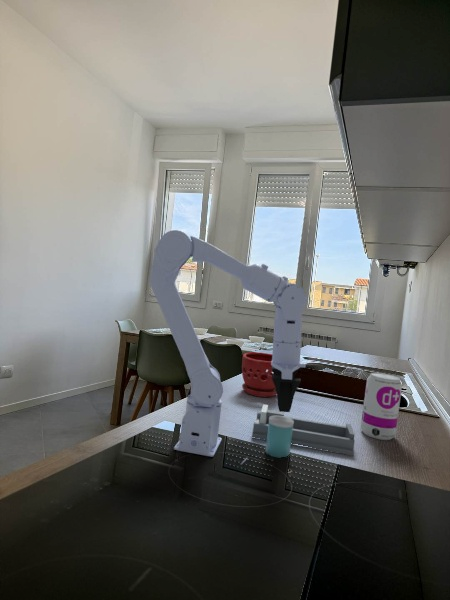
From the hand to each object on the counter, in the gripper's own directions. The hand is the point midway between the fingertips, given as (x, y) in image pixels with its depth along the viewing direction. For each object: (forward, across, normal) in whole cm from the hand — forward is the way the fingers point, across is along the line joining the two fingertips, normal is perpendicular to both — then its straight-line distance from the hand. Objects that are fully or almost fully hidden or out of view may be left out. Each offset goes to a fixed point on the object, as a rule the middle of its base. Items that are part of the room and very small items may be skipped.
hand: (283, 405), depth 88 cm
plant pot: (+10, +44, +6) cm, 46 cm away
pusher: (+8, +10, +2) cm, 13 cm away
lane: (+10, +10, -4) cm, 14 cm away
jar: (+10, -1, +1) cm, 10 cm away
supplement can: (+12, +20, -25) cm, 34 cm away
